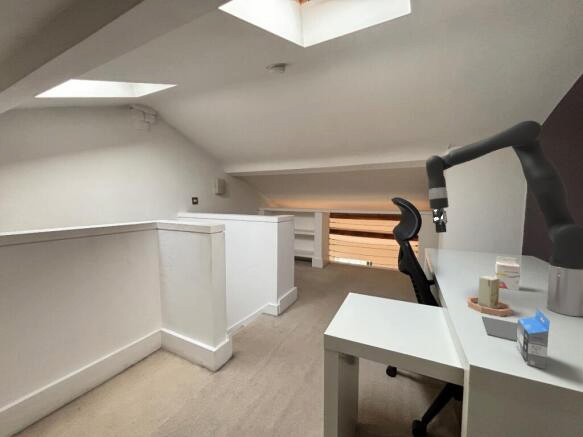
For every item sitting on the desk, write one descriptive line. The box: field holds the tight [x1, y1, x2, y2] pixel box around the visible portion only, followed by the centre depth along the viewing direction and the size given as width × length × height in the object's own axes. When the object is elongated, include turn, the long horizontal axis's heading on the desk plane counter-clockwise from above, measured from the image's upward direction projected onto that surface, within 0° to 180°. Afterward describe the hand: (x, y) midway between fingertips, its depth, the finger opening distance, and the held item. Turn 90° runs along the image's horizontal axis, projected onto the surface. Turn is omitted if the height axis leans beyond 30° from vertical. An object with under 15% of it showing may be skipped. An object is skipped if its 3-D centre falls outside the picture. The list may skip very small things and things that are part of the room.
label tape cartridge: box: [516, 308, 551, 370], centre depth 63 cm, size 9×4×12 cm, turn 150°
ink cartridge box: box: [494, 256, 521, 291], centre depth 117 cm, size 9×5×15 cm, turn 58°
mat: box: [481, 315, 518, 343], centre depth 77 cm, size 12×14×1 cm
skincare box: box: [477, 275, 500, 310], centre depth 94 cm, size 6×4×12 cm
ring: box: [466, 296, 513, 317], centre depth 94 cm, size 13×13×2 cm
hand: (441, 232), depth 112 cm, fingers open, 8 cm apart
